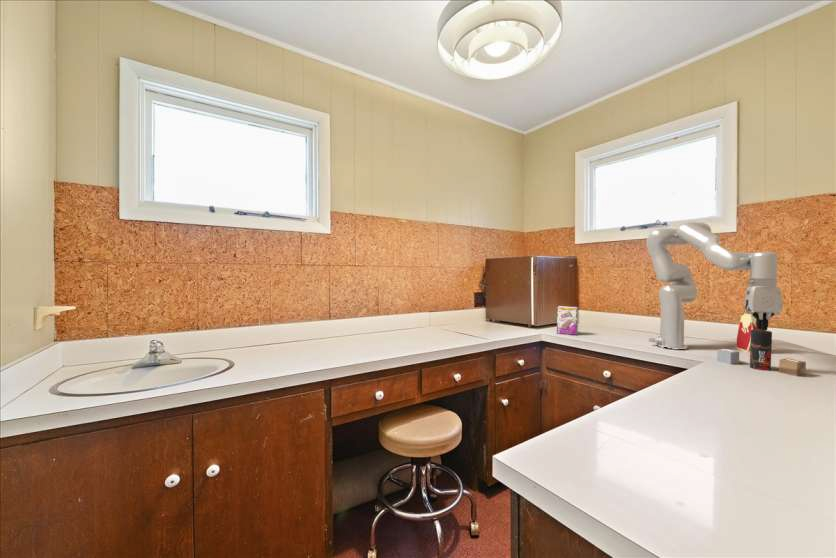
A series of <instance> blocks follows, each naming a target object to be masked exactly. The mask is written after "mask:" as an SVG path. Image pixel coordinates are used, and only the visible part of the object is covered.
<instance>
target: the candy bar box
mask: <svg viewBox="0 0 836 558" xmlns="http://www.w3.org/2000/svg"><path fill="white" fill-rule="evenodd" d="M578 318H579V307H577V306H564V305H562V306H561V305H558V306H557V307H556V334H558V333H560V334H559V335H567V334H573V335H572V336H578V334H579V333H578V331H579V330H578V329H579V328H578V327H579V325H578V323H579V319H578Z"/></svg>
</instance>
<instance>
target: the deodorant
mask: <svg viewBox="0 0 836 558" xmlns="http://www.w3.org/2000/svg"><path fill="white" fill-rule="evenodd" d="M772 342H773V332H772V331H770V330H767V331H765V330H751V342H750V353H749V368H751V369H754V370H759V371H766V372H767V371H771V368H772V367H771V366H772Z"/></svg>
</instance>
